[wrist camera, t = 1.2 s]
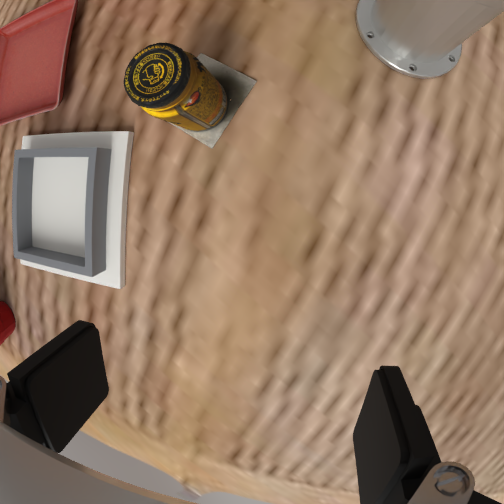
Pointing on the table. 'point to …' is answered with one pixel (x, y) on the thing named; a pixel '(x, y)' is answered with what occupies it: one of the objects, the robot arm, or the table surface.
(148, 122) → the table surface
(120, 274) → the holder
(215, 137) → the condiment
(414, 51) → the robot arm
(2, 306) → the plastic cup
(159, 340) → the table surface
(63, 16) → the plant saucer
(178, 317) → the table surface
